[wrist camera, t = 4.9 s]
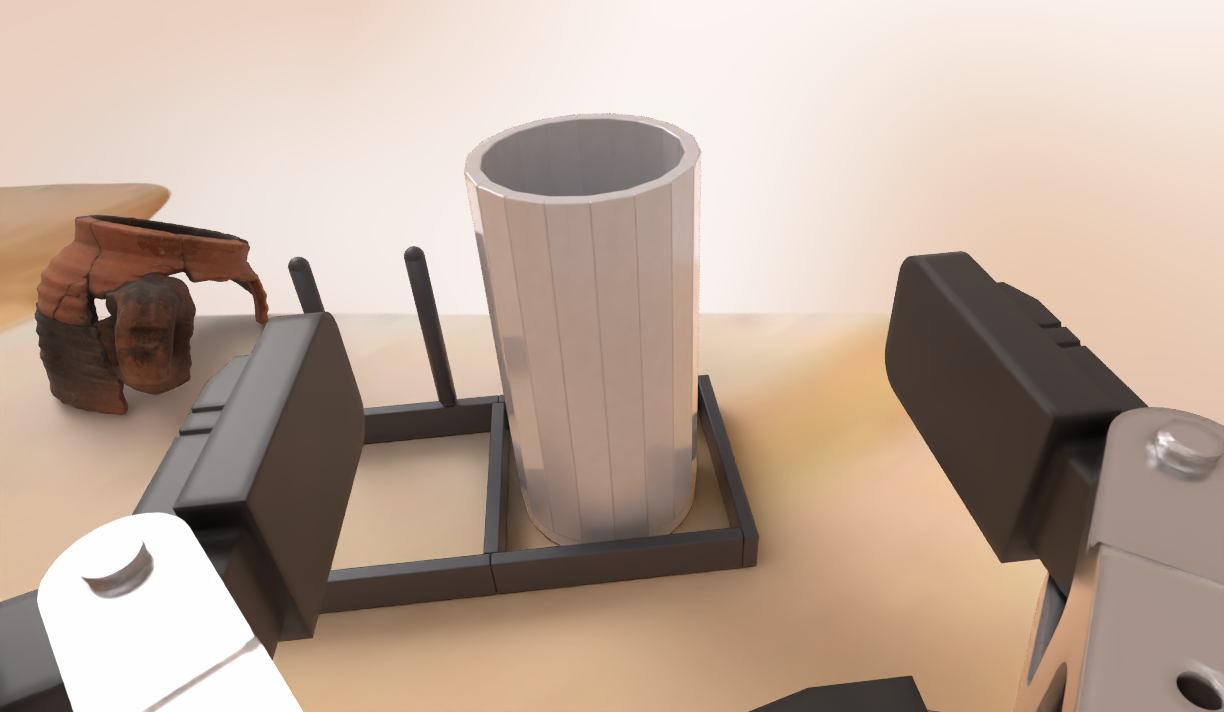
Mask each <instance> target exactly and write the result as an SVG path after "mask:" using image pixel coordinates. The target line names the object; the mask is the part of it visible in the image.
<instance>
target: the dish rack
mask: <svg viewBox="0 0 1224 712" xmlns="http://www.w3.org/2000/svg"><path fill="white" fill-rule="evenodd" d="M404 259H405V263H406V267H407V271H408V276H409V280H410V284H411V287H412V292H413V296H414V300H415V304H416V308H417V312H418V317H419V321H420V325H421V329H422V333H423V337H424V341H425V345H426V349H427V353H428V357H429V362H430V366H431V370H432V374H433V378H434V382H435V386H436V390H437V394H438V398H439V401H436V402H425V403H415V404H405V405H395V406H385V407H375V408H364V417H365V436H364V443H363V444H367V443H377V442H387V441H397V440H407V439H417V438H427V437H437V436H447V435H457V434H467V433H477V432H487V431H491V435H490V452H489V469H488V486H487V503H486V519H485V536H484V554H481V555H472V556H462V557H453V558H443V559H434V560H425V561H415V562H406V563H397V564H387V565H378V566H368V567H359V568H350V569H340V570H331V571H330V573H329V577H328V581H327V585H326V588H325V592H324V596H323V600H322V604H321V607H320V611H319V613H326V612H335V611H344V610H353V609H363V608H372V607H381V606H390V605H400V604H409V603H418V602H427V601H436V600H446V599H455V598H464V597H473V596H482V595H492V594H496V593H498V594H501V593H510V592H519V591H528V590H538V589H547V588H556V587H565V586H575V585H584V584H593V583H602V582H611V581H621V580H630V579H639V578H648V577H657V576H667V575H676V574H685V573H694V572H703V571H713V570H722V569H731V568H740V567H741V566H742V567H750V566H756V564H757V552H758V541H759V535H758V532H757V528H756V525H755V522H754V519H753V516H752V513H751V509H750V506H749V503H748V500H747V497H746V493H745V490H744V487H743V484H742V481H741V478H740V474H739V471H738V468H737V465H736V462H735V458H734V455H733V452H732V449H731V446H730V443H729V439H728V436H727V433H726V430H725V427H724V423H723V420H722V417H721V414H720V411H719V408H718V404H717V401H716V398H715V395H714V392H713V388H712V385H711V382H710V379H709V376H708V375H700V376H698V402H697V410H698V411H699V415H700V418H701V422H702V426H703V429H704V433H705V436H706V440H707V443H708V447H709V451H710V454H711V458H712V461H713V465H714V468H715V472H716V476H717V479H718V483H719V486H720V490H721V493H722V497H723V501H724V504H725V508H726V511H727V515H728V519H729V522H730V526H731V528H725V529H716V530H706V531H697V532H688V533H678V534H669V535H659V536H650V537H641V538H631V539H622V540H613V541H603V542H594V543H584V544H575V545H566V546H556V547H547V548H537V549H528V550H519V551H509V552H506V530H507V496H508V463H509V429H510V426H509V421H508V415H507V409H506V404H505V398H504V395H499V396H498V395H496V396H486V397H476V398H466V399H456V392H455V388H454V383H453V379H452V375H451V370H450V366H449V361H448V357H447V352H446V348H445V344H444V339H443V335H442V330H441V326H440V322H439V317H438V313H437V309H436V304H435V299H434V295H433V291H432V286H431V282H430V277H429V273H428V269H427V264H426V260H425V255H424V252H423V251H422V250H421V249H420V248H418V247H415V246H413V247H410V248H408V249H407V250H406V251H405V253H404ZM288 268H289V272H290V275H291V277H292V280H293V283H294V286H295V289H296V292H297V295H298V298H299V300H300V303H301V306H302V308H303V312H304V314H308V313H318V312H325V311H324V307H323V304H322V301H321V299H320V295H319V292H318V289H317V286H316V283H315V280H314V277H313V274H312V271H311V268H310V265H309V262H308V261H307V260H306V259H304V258H302V257H295V258H293V259H291V260H290V262H289V265H288Z"/></svg>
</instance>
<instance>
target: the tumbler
mask: <svg viewBox="0 0 1224 712" xmlns="http://www.w3.org/2000/svg"><path fill="white" fill-rule="evenodd" d="M464 173H465V179H466V185H467V190H468V196H469V202H470V207H471V213H472V219H473V224H474V230H475V235H476V241H477V247H478V252H479V258H480V264H481V269H482V275H483V280H484V286H485V292H486V297H487V303H488V308H489V314H490V320H491V325H492V331H493V337H494V342H495V348H496V353H497V359H498V365H499V370H500V376H501V381H502V387H503V393H504V398H505V404H506V409H507V415H508V421H509V426H510V432H511V437H512V443H513V449H514V454H515V460H516V465H517V471H518V477H519V482H520V488H521V493H522V497H523V499H524V504H525V507H526V511H527V513H528V515H529V517H530V519H531V521H532V522H533V524H534V525H535V526H536V527H537V528H538V529H539V531H540V532H541V533H542V534H544V535H545V536H546V537H548V538H549V539H550V540H552V541H554V542H555V543H557V544H559V545H561V546H566V545H575V544H584V543H594V542H603V541H613V540H622V539H631V538H641V537H650V536H659V535H669V534H670V533H671V532H672V531H674V530H675V529H676V528H677V527H678V526H679V525H680V524H681V522H682V521H683V520H684V519H685V517H686V516H687V514H688V512H689V511H690V508H691V506H692V503H693V500H694V495H695V481H696V471H697V402H698V333H699V264H700V263H699V262H700V193H701V150H700V148H699V146H698V144H697V142H696V140H695V138H694V137H693V136H692V135H691V134H689V133H687V132H686V131H684V130H682V129H681V128H679V127H677V126H676V125H673V124H670V123H667V122H663V121H659V120H655V119H652V118H648V117H643V116H633V115H623V114H610V113H609V114H577V115H569V116H561V117H555V118H547V119H542V120H537V121H533V122H531V123H526V124H523V125H519V126H516V127H513V128H509V129H506V130H504V131H502V132H500V133H498V134H496V135H494V136H492V137H490V138H488V139H486V140H484V141H482V142H481V143H480V144H479V145H478V146H477V147H476V148H475V149H474V150H473V151H472V152H470V153H469V154H468V156H467V159H466V164H465V170H464Z"/></svg>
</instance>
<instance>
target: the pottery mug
mask: <svg viewBox="0 0 1224 712" xmlns="http://www.w3.org/2000/svg"><path fill="white" fill-rule="evenodd" d="M249 249H250V246H249V245H248V242H247V241H246V240H243V239H240V238H239V237H236V236H233V235H230V234H224V233H220V232H217V231H211V230H206V229H199V228H194V227H187V226H183V225H176V224H171V223H163V222H157V221H150V220H144V219H135V218H126V217H117V216H103V215H90V216H81V217H77V218H75V240H74V241H73V242H72V243H71V244H70V245H69V246H67V247H65V248H64V249H63V250H62V251H61V252H60V253H59V254H58V255H57V256H56V257H54V258H53V259H52V260H51V262H50V264H49V266H48V267H47V268H46V269H45V270H44V271H43V272H42V274H41V283H40V284H39V285H38V287H37V291H38V302H37V303H36V307H37V310H36V312H35V319H36V321H37V328H36V332H37V334H38V335H39V347H40V349H41V351H40V358H41V360H42V361H43V364H44V367H45V369H46V372H47V375H48V378H49V381H50V390H51V392H52V394H53V396H55V397H56V398H58V399H59V400H61V402H63V403H64V404H69V405H72V406H74V407H76V408H79V409H83V410H86V411H95V412H100V413H108V414H125V413H126V412H127V410H128V405H127V402H126V399H125V397H124V394H123V388H124V383H125V384H126V385H128V386H130V387H132V388H133V389H135V390H138V391H141V392H145V393H149V394H155V395H157V394H161V393H164V392H167V391H169V390H171V389H174V388H175V387H178V386H180V385H182V384H183V383H185V382H187V381H188V380H189V379H190V371H189V370H190V367H191V365H192V362H191V355H190V338H191V336H192V335H193V329H194V325H193V321H194V316H195V312H196V308H195V305H194V303H193V301H192V298H191V296H190V293H189V289H188V287H187V285H186V284H185V283H184V282H183V281H182V280H180V279H177V278H174V277H168V276H169V275H172V274H176V273H180V272H185V273H186V275H187V277H188V278H189V280H190V281H192V282H201V281H208V280H212V281H217V282H223V281H228V280H232V281H234V282H236V283H238V284H239V285H240V286H242V287H243V288H244V289H245V290H247V291H249V292H250V293H251V294H252V295H253V298H254V304H255V317H256V321H257V322H259V323H260V324H265V323H267V322H268V315H267V312H268V305H267V303H266V297H267V295H266V293H265V291H264V289H263V286H262V284H261V282H260V280H259V277H258V275H257V274H256V273H255V272H254V271H253V270H252V268H251V267H250V265H249V263H248V262H247V255H248V252H249ZM95 298H98V299H106V307H107V309H108V312H109V313H110V314H111V315H112V316H110V317H108V318H106V319H104V320H100V321H98V316H97V313H96V307H95V305H94V299H95Z"/></svg>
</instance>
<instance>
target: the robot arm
mask: <svg viewBox="0 0 1224 712" xmlns="http://www.w3.org/2000/svg"><path fill="white" fill-rule="evenodd" d="M885 364H886V371H887V376H888V379H889V382H890V385H891V387H892V389H893V391H894V392H895V394H896V396H897V397H898V399H899V400H900V402H901V404H902V405H903V407H904V408H905V410H906V412H907V413H908V415H909V416H910V418H911V420H912V421H913V423H914V424H915V426H916V428H917V429H918V431H919V432H920V434H921V436H922V437H923V439H924V440H925V442H926V444H927V445H928V447H929V448H930V450H931V452H932V453H933V455H934V456H935V458H936V460H937V461H938V463H939V464H940V466H941V468H942V469H943V471H944V472H945V474H946V476H947V477H948V479H949V480H950V482H951V484H952V485H953V487H954V488H955V490H956V492H957V493H958V495H959V496H960V498H961V500H962V501H963V503H964V504H965V506H966V508H967V509H968V511H969V512H970V514H971V516H972V517H973V519H974V520H975V522H976V524H977V525H978V527H979V528H980V530H981V532H982V533H983V535H984V536H985V538H986V540H987V541H988V543H989V544H990V546H991V548H992V549H993V551H994V552H995V554H996V556H997V557H998V559H999V560H1000V562H1001V563H1007V562H1016V561H1025V560H1033V559H1040V560H1041V562H1042V563H1043V565H1044V566H1045V568H1046V569H1047V571H1048V573H1047V575H1046V577H1045V580H1044V582H1043V584H1042V587H1041V590H1040V594H1039V599H1038V604H1037V608H1036V613H1035V617H1034V622H1033V626H1032V631H1031V636H1030V640H1029V645H1028V649H1027V654H1026V659H1025V663H1024V668H1023V672H1022V677H1021V681H1020V686H1019V691H1018V695H1017V700H1016V704H1015V708H1014V712H1224V426H1223V425H1221V424H1219V423H1217V422H1215V421H1212V420H1210V419H1207V418H1204V417H1202V416H1199V415H1196V414H1192V413H1189V412H1185V411H1180V410H1176V409H1169V408H1157V407H1148V406H1147V405H1146V404H1145V403H1144V402H1143V401H1142V400H1141V399H1140V398H1139V397H1138V396H1137V395H1136V394H1135V393H1134V392H1133V391H1132V390H1131V389H1130V388H1129V387H1127V386H1126V384H1124V383H1123V382H1122V381H1121V380H1120V379H1119V378H1118V377H1117V376H1116V375H1115V374H1114V373H1113V372H1112V371H1111V370H1110V369H1109V368H1108V367H1107V366H1106V365H1105V364H1104V363H1103V362H1102V361H1101V360H1100V359H1099V358H1098V357H1096V356H1095V355H1094V354H1093V353H1092V352H1091V351H1090V350H1089V349H1088V348H1087V347H1086V346H1081V345H1080V340H1079V339H1078V338H1077V337H1076V336H1075V335H1074V334H1073V333H1072V332H1071V331H1070V330H1069V329H1068V328H1067V327H1061V322H1060V321H1059V320H1058V319H1057V318H1056V317H1055V316H1054V315H1053V314H1052V313H1051V312H1050V311H1049V310H1048V309H1047V308H1046V307H1045V306H1044V305H1043V304H1042V303H1041V302H1040V301H1039V300H1037V299H1035V298H1033V297H1031V296H1029V295H1028V294H1025V293H1024V292H1021V291H1020V290H1018V289H1016V288H1014V287H1012V286H1010V285H1008V284H1006V283H1004V282H1000V283H996V282H995V281H994V280H993V279H992V278H991V277H990V276H989V275H988V273H986V271H985V270H984V269H983V268H982V267H981V266H980V265H979V264H978V263H977V262H976V261H975V260H974V259H973V258H972V257H971V256H970V255H969V254H967V253H965V252H962V251H959V252H948V253H939V254H928V255H918V256H910V257H908V258H906V259H905V260H904V262H903V264H902V265H901V268H900V272H899V277H898V281H897V287H896V292H895V298H894V303H893V309H892V314H891V320H890V325H889V331H888V336H887V342H886V348H885ZM179 433H180V436H179V437H175V439H174V441H173V443H172V445H171V446H170V448H169V450H168V452H167V453H166V455H165V457H164V459H163V461H162V462H161V464H160V466H159V468H158V469H157V471H156V473H155V475H154V477H153V478H152V480H151V482H150V484H149V485H148V487H147V489H146V491H145V493H144V494H143V496H142V498H141V500H140V501H139V503H138V505H137V507H136V509H135V510H134V512H133V514H132V516H129V517H125V518H122V519H119V520H116V521H113V522H111V523H109V524H106V525H104V526H102V527H100V528H98V529H96V530H94V531H93V532H91V533H89V534H87V535H86V536H84V537H83V538H81V539H80V540H78V541H77V542H76V543H74V544H73V545H72V546H71V547H69V548H68V549H67V550H66V551H65V552H64V553H63V554H62V555H61V556H60V557H59V558H58V559H57V560H56V561H55V562H54V563H53V565H52V566H51V567H50V568H49V570H48V571H47V573H46V574H45V576H44V578H43V580H42V582H41V585H40V587H39V589H37V590H34V591H31V592H29V593H26V594H23V595H20V596H17V597H14V598H11V599H8V600H5V601H2V602H0V712H303V711H302V709H301V708H300V706H299V704H298V703H297V701H296V700H295V698H294V696H293V695H292V693H291V691H290V690H289V688H288V686H287V685H286V683H285V681H284V680H283V678H282V676H281V675H280V673H279V672H278V670H277V668H276V667H275V665H274V663H273V662H272V660H273V656H274V653H275V650H276V646H277V643H278V642H280V641H289V640H298V639H307V638H313V634H314V630H315V627H316V623H317V619H318V615H319V611H320V607H321V604H322V600H323V596H324V592H325V588H326V585H327V581H328V577H329V573H330V569H331V565H332V562H333V558H334V554H335V550H336V546H337V542H338V539H339V535H340V531H341V527H342V523H343V519H344V516H345V512H346V508H347V504H348V500H349V497H350V493H351V489H352V485H353V481H354V477H355V474H356V470H357V466H358V462H359V458H360V454H361V451H362V447H363V443H364V436H365V417H364V409H363V404H362V400H361V396H360V393H359V390H358V387H357V384H356V381H355V378H354V375H353V371H352V368H351V365H350V362H349V359H348V356H347V353H346V350H345V347H344V344H343V341H342V338H341V335H340V332H339V328H338V326H337V323H336V321H335V319H334V317H333V316H332V315H331V314H330V313H329V312H318V313H308V314H297V315H287V316H277V317H272V318H270V319H269V320H268V322H267V323H266V325H265V327H264V329H263V331H262V333H261V335H260V337H259V339H258V341H257V343H256V345H255V347H254V349H253V351H252V353H251V355H246V356H236V357H235V358H233V359H232V360H231V361H230V362H229V363H228V364H227V365H225V366H224V367H223V368H222V369H221V370H220V371H218V372H217V373H216V374H215V375H214V376H213V377H212V378H210V379H209V380H208V381H207V382H206V384H205V386H204V388H203V389H202V391H201V393H200V395H199V397H198V398H197V400H196V402H195V404H194V405H193V407H192V414H188V416H187V418H186V420H185V421H184V423H183V425H182V427H181V429H180V430H179ZM749 712H938V711H931V710H927V709H926V706H925V704H924V702H923V700H922V697H921V695H920V693H919V691H918V688H917V686H916V684H915V682H914V679H913V677H912V676H905V677H896V678H888V679H879V680H871V681H862V682H853V683H845V684H836V685H828V686H819V687H811V688H806V689H804V690H801V691H799V692H796V693H794V694H792V695H789V696H787V697H784V698H782V699H779V700H777V701H774V702H772V703H769V704H767V705H764V706H762V707H759V708H757V709H754V710H752V711H749Z"/></svg>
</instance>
